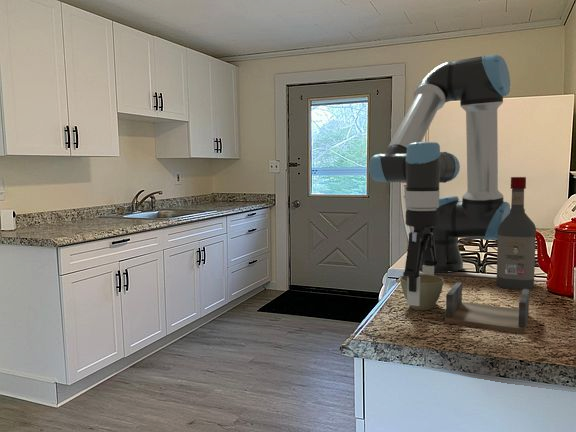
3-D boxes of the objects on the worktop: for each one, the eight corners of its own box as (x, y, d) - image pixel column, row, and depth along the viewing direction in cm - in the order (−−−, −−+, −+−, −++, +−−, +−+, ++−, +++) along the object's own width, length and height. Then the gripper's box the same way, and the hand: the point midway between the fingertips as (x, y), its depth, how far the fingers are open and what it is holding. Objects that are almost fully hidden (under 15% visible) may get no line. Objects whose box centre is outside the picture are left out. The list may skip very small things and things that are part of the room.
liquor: (533, 291, 126) (537, 177, 123) (495, 288, 130) (498, 177, 127) (534, 283, 134) (537, 176, 131) (498, 280, 138) (501, 176, 135)
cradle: (457, 305, 115) (457, 281, 114) (528, 314, 107) (529, 288, 107) (445, 322, 103) (445, 295, 102) (524, 333, 95) (525, 304, 95)
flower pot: (445, 314, 108) (446, 283, 108) (400, 313, 110) (400, 282, 110) (440, 302, 118) (441, 274, 117) (399, 300, 120) (399, 273, 119)
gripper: (419, 204, 124) (418, 284, 126) (390, 213, 103) (389, 309, 105) (449, 205, 121) (448, 288, 123) (425, 214, 99) (423, 313, 101)
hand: (421, 298), depth 114 cm, fingers open, 13 cm apart
